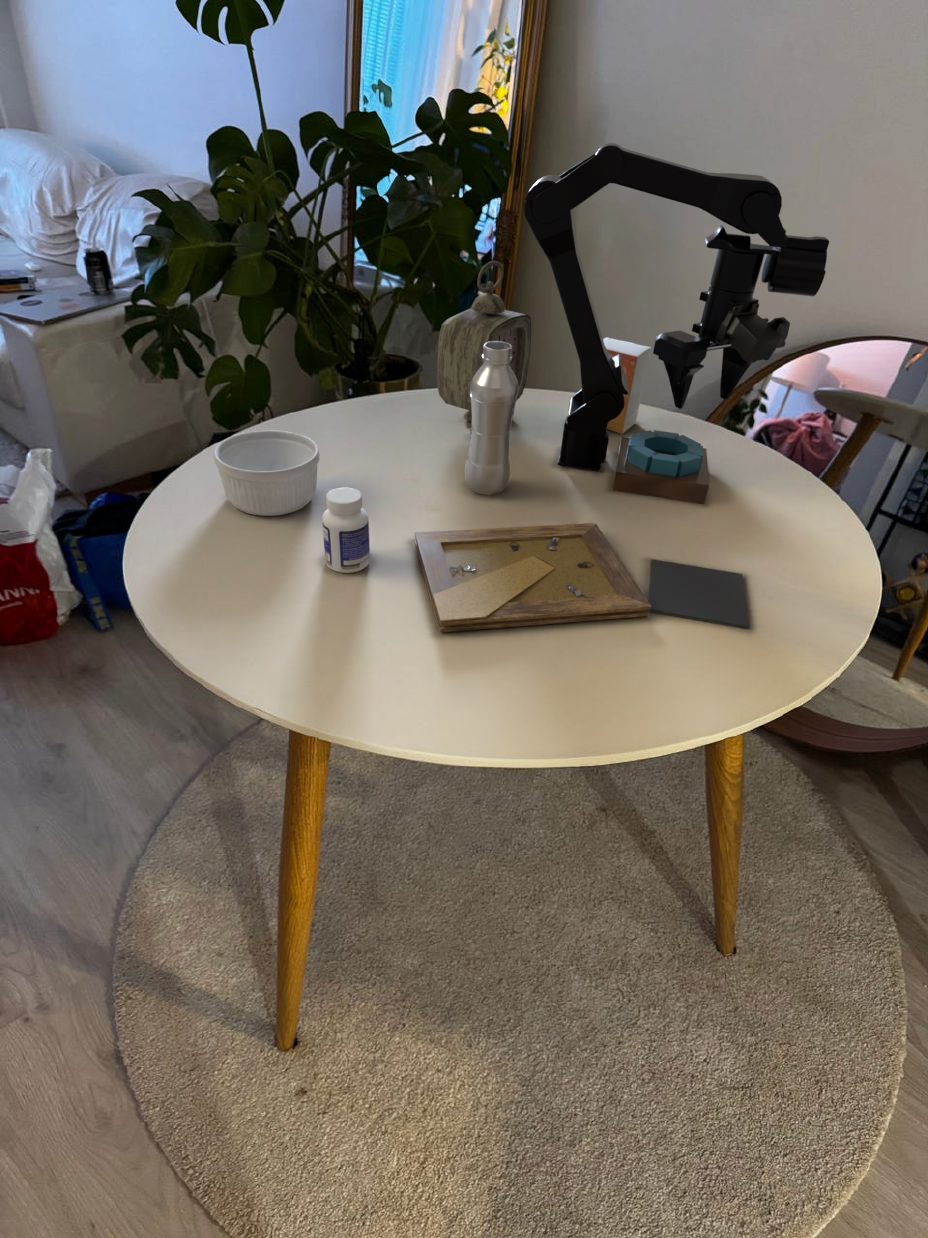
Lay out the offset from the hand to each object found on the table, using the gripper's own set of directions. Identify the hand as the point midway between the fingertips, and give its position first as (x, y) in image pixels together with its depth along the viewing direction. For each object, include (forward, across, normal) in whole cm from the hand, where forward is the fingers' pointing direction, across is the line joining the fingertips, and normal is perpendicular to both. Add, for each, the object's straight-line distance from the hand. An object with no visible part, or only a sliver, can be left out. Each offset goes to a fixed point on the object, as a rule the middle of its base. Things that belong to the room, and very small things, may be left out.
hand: (701, 403), depth 108 cm
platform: (+11, -5, 0) cm, 12 cm away
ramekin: (+12, -58, +20) cm, 62 cm away
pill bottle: (+12, -56, 0) cm, 57 cm away
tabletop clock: (+12, -18, +30) cm, 36 cm away
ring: (+8, -5, 0) cm, 9 cm away
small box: (+11, +2, +20) cm, 23 cm away
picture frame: (+11, -38, -12) cm, 42 cm away
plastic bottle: (+12, -30, +9) cm, 33 cm away
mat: (+11, -22, -24) cm, 35 cm away
